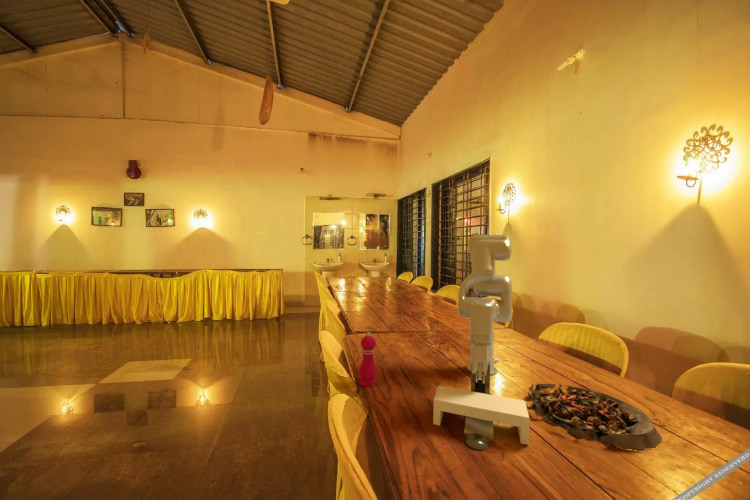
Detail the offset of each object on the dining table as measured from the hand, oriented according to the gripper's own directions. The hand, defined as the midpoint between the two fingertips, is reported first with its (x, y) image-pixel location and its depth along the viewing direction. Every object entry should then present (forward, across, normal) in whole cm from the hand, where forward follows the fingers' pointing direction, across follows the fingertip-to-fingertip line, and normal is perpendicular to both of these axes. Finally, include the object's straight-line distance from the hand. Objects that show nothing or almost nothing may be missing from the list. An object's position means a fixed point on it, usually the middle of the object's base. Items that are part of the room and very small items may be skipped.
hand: (480, 391), depth 103 cm
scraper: (+5, +8, 0) cm, 10 cm away
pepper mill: (+5, -1, -42) cm, 42 cm away
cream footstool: (+5, +12, 0) cm, 13 cm away
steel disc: (+5, +22, 0) cm, 22 cm away
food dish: (+6, -6, +33) cm, 34 cm away
